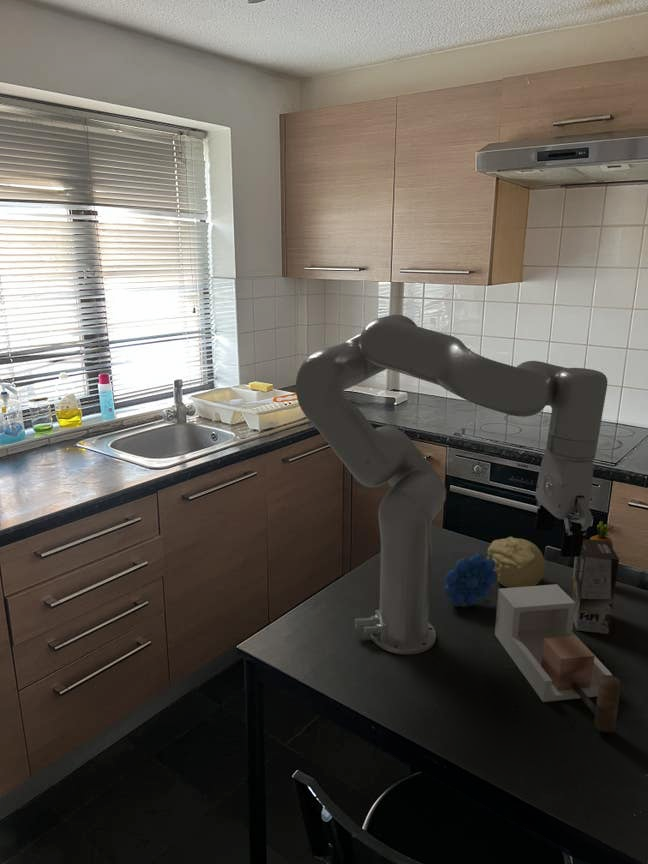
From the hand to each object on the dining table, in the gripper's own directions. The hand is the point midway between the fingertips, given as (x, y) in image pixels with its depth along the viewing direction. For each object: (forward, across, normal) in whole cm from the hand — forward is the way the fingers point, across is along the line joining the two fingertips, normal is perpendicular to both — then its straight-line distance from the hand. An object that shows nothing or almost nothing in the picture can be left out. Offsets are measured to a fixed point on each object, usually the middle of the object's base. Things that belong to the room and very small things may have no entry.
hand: (556, 542), depth 108 cm
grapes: (+26, -24, -5) cm, 36 cm away
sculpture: (+26, -31, +9) cm, 41 cm away
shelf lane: (+25, -2, +3) cm, 25 cm away
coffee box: (+25, -15, +18) cm, 34 cm away
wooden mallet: (+24, +9, +4) cm, 26 cm away
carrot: (+25, -29, +27) cm, 47 cm away
